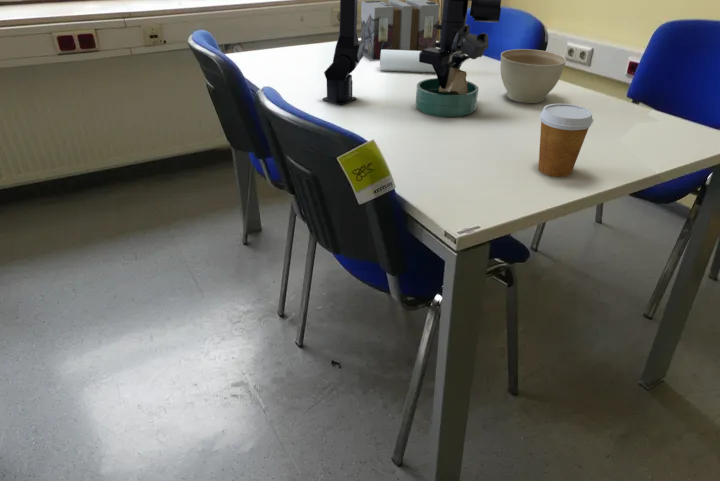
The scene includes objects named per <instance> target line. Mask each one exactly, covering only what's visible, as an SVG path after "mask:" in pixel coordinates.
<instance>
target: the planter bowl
mask: <svg viewBox="0 0 720 481" xmlns="http://www.w3.org/2000/svg"><path fill="white" fill-rule="evenodd" d="M566 62H567V59H566V57H565V56H563V55H560V54H558V53H555V52H551V51H546V50H542V49H541V50H539V49H530V48H529V49H528V48H516V49H509V50H508V49H507V50H505V51H502V52H501V53H500V77H501V81H502V84H503V86H504V88H505V90H506V93H507V94H506V95H507V96H506V97H508V98H509V99H510V100H512V101H515V102H517V103H522V104H523V103H525V104H537V103H542V102H544V101H545V99H546V96H547V95H548V94H550V92H551V91H552V90H553V89H554V88H555V87H556V85H557V84H558V82H559V81H560V78H561V76H562V74H563V71H564V67H565V65H566Z"/></svg>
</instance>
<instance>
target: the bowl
mask: <svg viewBox="0 0 720 481" xmlns="http://www.w3.org/2000/svg"><path fill="white" fill-rule="evenodd" d="M466 81H467V88H468V94H462V95H456V94H450V93H443V92H439V87H440V83H439V81H438V78H437V77H433V78H426V79H423V80H420V81H418V83H416V91H415V107H416V108H417V109H418V110H420V111H421V112H422V113H424V114H426V115H429V116H433V117H439V118H461V117H465V116H468V115H470V114H471V113H473V112H475V111H476V110H477V105H478V104H477V103H478V95H479V86H478V85H477V84H475V83H473V82H472V81H469V80H466Z"/></svg>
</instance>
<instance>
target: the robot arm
mask: <svg viewBox="0 0 720 481" xmlns="http://www.w3.org/2000/svg"><path fill="white" fill-rule="evenodd" d="M358 1H359V0H339V33H338V38H337V40H336V44H335V48H334V54H333V59H332V62H331V64H329V66H328V67H327V68H326V69H325V70H324V71H323V73H324V74H323V75H324V76H325V77H324V78H325V79H326V96H325V97H323V98H322V101H323V102H326V103H331V104H334V105H336V106H337V105H338V106H343V105H346V104H348V103H351V102H354V101H357V97H356V96H353V75H352V72H354V71H355V69H357V66H358V65H359V64H360V62H361V61H362V59H363V57H364V56H363V53H362V47H363V43H364V40H361V39H360V40H359V38H358V34H357V33H358V32H357V29H358V28H357V26H358V23H357V22H358ZM469 1H470V10H469V17H471V18H472V19H473V21H474V22H479V23H480V22H481V23H495V24H496V23H500V18H501V10H502V4H501V3H502V0H442V7H441V9H442V10H441V17H440V18H441V20H440V23H438V24H437V30H439V40H438V41H436V45H435V47H436V48H432V47H430V48H427V49H424V50H422V51H421V52H420V53H419V62H421V63H426V64H431V65H432V66H433V68H434V70H435V73H434V74H435V76H436V78H438V81H439V83H440V86H441V88H442V89H445V88H446V85H447V81H448V76H449V71H450V68H451V67H454V68H457V69H460V70H461V67H462V65H463V64H464V63H465V62H466V61H468V60H469V59H471V60H476V59H477V58H482V57H483V55H484V53H485V50H488V49H489V47H490V46H489V44H490V42H489V34H487V33H486V32H481V33H479V34H478V35H477V34H473V33H471V27H470V25H469V24H467V16H468V8H469Z"/></svg>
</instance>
